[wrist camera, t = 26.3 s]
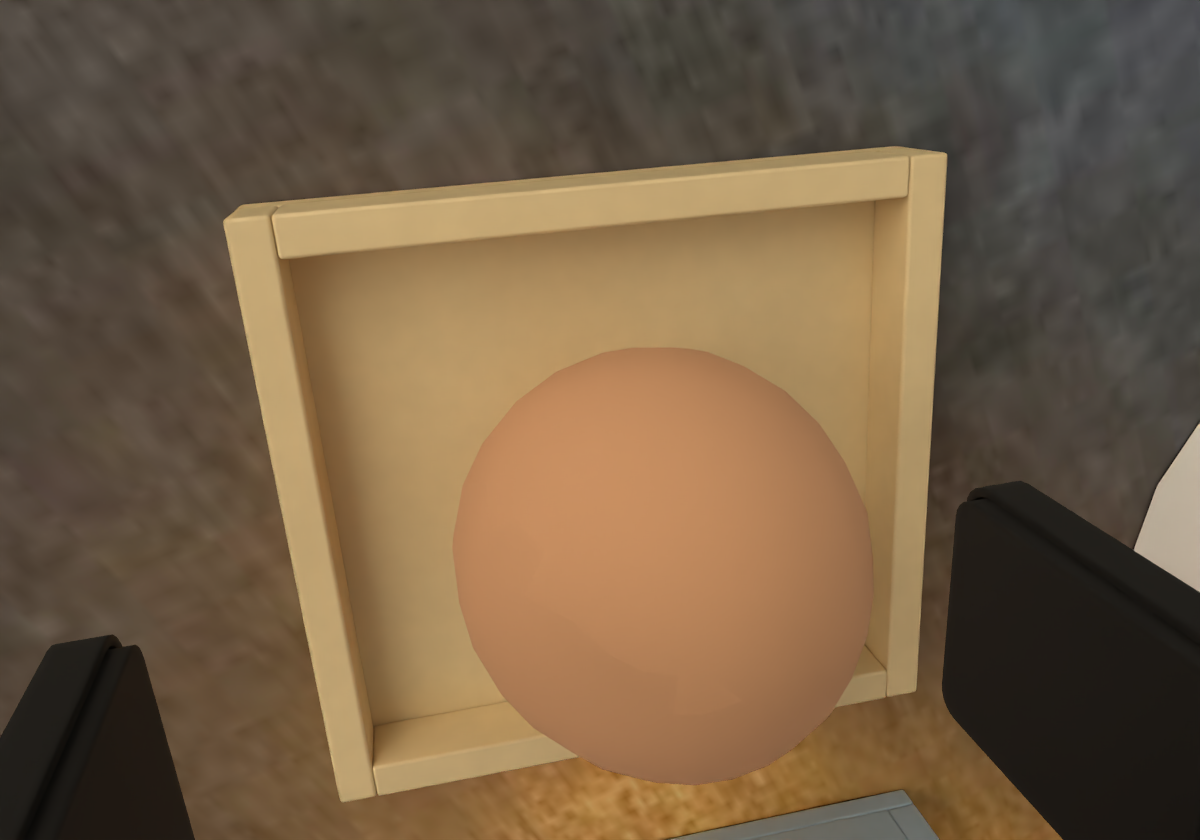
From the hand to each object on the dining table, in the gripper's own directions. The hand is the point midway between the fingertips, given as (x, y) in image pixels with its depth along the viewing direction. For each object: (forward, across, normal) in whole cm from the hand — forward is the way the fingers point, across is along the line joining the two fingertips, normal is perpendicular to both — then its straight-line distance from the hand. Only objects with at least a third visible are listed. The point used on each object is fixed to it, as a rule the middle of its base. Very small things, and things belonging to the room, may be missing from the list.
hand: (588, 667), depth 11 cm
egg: (+10, -2, +2) cm, 11 cm away
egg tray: (+10, -3, +2) cm, 11 cm away
